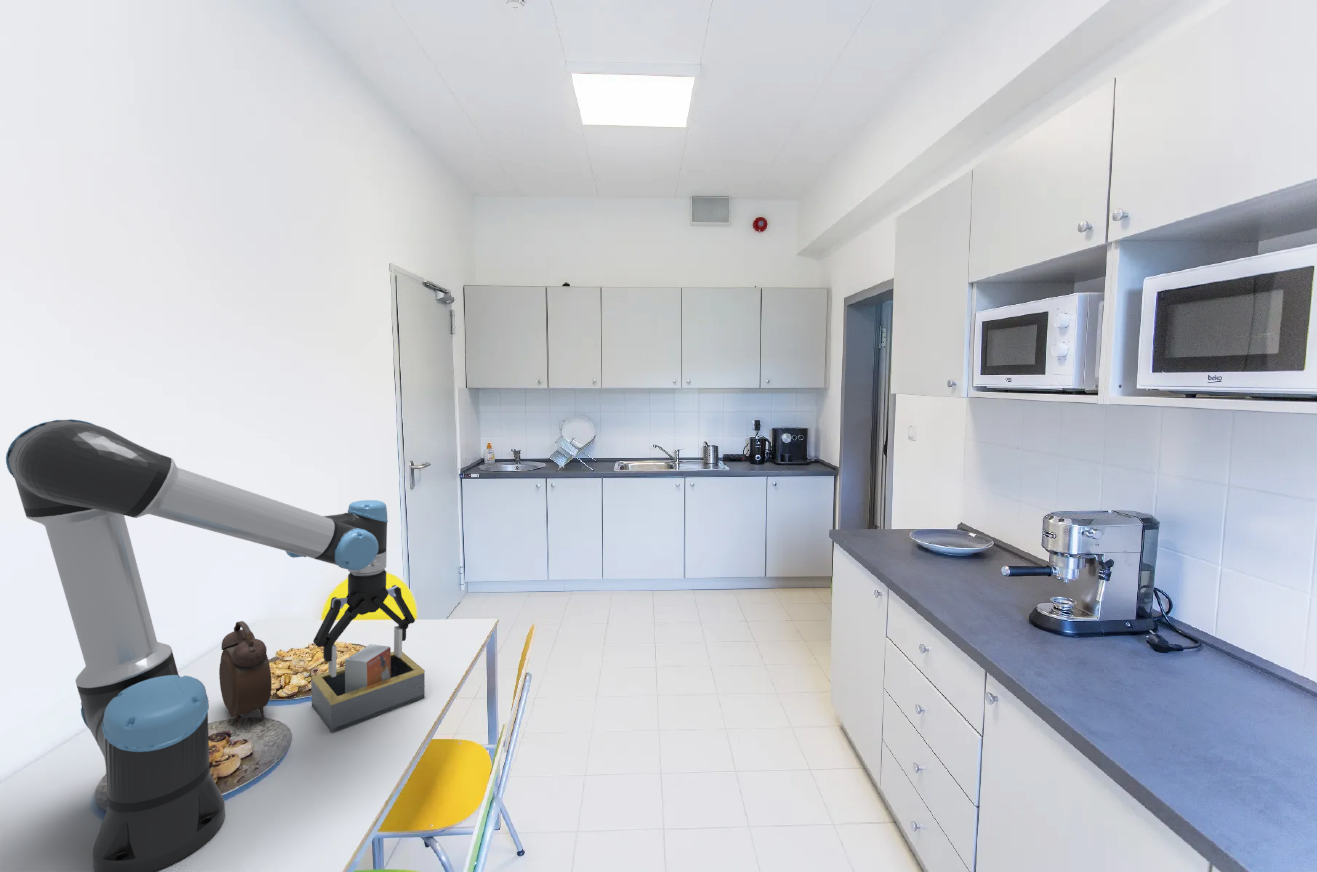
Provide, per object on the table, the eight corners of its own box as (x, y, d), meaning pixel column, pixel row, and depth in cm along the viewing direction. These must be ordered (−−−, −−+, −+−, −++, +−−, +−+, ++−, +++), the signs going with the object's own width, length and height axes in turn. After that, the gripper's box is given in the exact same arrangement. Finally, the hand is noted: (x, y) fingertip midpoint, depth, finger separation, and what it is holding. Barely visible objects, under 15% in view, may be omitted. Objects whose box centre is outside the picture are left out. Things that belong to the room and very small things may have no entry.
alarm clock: (278, 719, 116) (276, 627, 115) (236, 735, 111) (233, 638, 109) (257, 694, 126) (255, 609, 124) (217, 707, 120) (214, 618, 119)
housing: (331, 733, 112) (331, 702, 112) (311, 705, 122) (311, 676, 121) (424, 698, 126) (424, 670, 125) (400, 675, 135) (399, 649, 135)
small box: (366, 709, 119) (366, 662, 118) (344, 705, 120) (343, 659, 119) (391, 690, 127) (391, 646, 126) (370, 687, 128) (370, 643, 127)
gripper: (307, 587, 110) (306, 690, 111) (430, 564, 128) (429, 653, 129) (297, 577, 115) (296, 676, 116) (417, 557, 133) (415, 643, 134)
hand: (366, 664), depth 123 cm, fingers open, 13 cm apart
